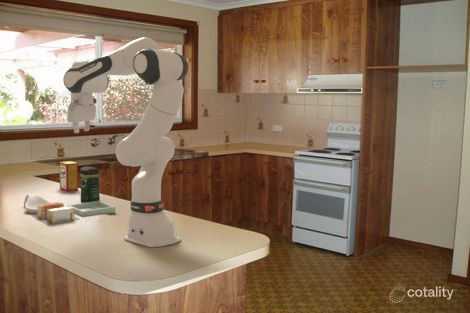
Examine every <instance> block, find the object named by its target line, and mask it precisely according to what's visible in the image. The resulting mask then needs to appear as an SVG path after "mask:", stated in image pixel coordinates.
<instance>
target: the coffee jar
mask: <svg viewBox="0 0 470 313" xmlns="http://www.w3.org/2000/svg"><path fill="white" fill-rule="evenodd" d="M79 171H80V172H79V177H80V203H87V202H94V201H101V200H100V170H99V168H98V167H93V166H90V165H89V166H82V167H81V168H80V170H79Z"/></svg>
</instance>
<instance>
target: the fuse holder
mask: <svg viewBox="0 0 470 313" xmlns="http://www.w3.org/2000/svg"><path fill="white" fill-rule="evenodd" d="M75 214H76V213H74V208H73V207H71V206H68V207H67V206H64V207H62V208H55V209H47V217H45V211H42V218H40V217H39V216H38V209H37V213H36V214H34V215H33V214H32V215H31V217H32V218H34V219H36V220H38V221H39V222H42V223H44V224H45V225H46V226H49V225H55V224H61V223H66V222H73V221H79V220H81V219H80V218H79V217H76V216H75Z"/></svg>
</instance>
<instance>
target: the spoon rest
mask: <svg viewBox="0 0 470 313" xmlns="http://www.w3.org/2000/svg"><path fill="white" fill-rule="evenodd" d="M48 203H51V202H50V201H48V200H46V199H45V198H44V197H41V196H40V195H38V194H37V193H32V194H31V193H30V194H29V193H27V195H26V196H25V198H24V201H23V206H24V208H25V210H26V211H27V212H28V213H30V214H38V213H37V209H38V207H37V205H41V204H48Z"/></svg>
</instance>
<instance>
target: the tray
mask: <svg viewBox="0 0 470 313" xmlns="http://www.w3.org/2000/svg"><path fill="white" fill-rule="evenodd" d="M68 206H71V207H73V208H74V214H77V215H79V216H81V217H87V216H93V215H100V214H104V215H111V214H115V213H116V206H115V205H112V204H109V203H107V202H104V201H101V200H100V201H94V202H87V203H81V202H80V203H73V204H68V205H67V206H66V207H68ZM84 208H90V209H88V210H82V209H84Z"/></svg>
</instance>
